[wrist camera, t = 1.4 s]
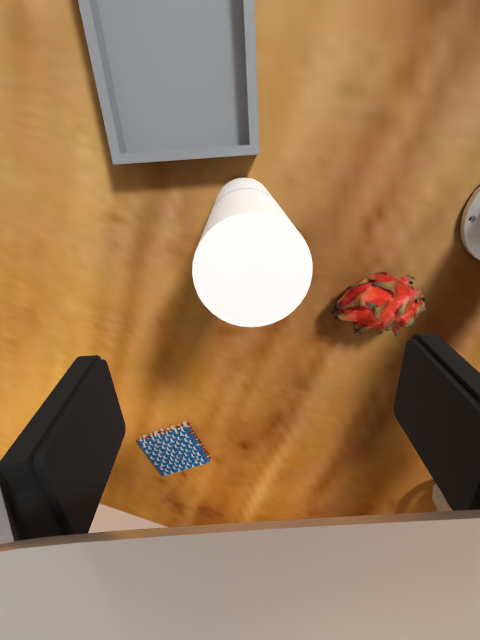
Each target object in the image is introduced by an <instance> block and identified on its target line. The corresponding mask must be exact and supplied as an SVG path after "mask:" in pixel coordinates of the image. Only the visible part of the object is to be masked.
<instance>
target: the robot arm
mask: <svg viewBox="0 0 480 640" xmlns="http://www.w3.org/2000/svg"><path fill="white" fill-rule="evenodd" d="M460 233H461V240H462V242H463V245H464V247H465V249H466V250H467V252H468V253H469V254H471V255H472V256H473V257H474V258H476V259H478V260H480V186H479V187H478V188H477V189H476V190H475V192H474V193H473V195H472V196H471V198H470V199H469V201H468V203H467V205H466V207H465V209H464V212H463V215H462V219H461V226H460ZM394 413H395V416H396V418H397V420H398V422H399V423H400V425H401V427H402V428H403V430H404V432H405V433H406V435H407V437H408V438H409V440H410V441H411V443H412V445H413V446H414V448H415V450H416V451H417V453H418V455H419V456H420V458H421V459H422V461H423V463H424V464H425V466H426V468H427V469H428V471H429V473H430V474H431V476H432V477H433V479H434V481H435V482H436V484H437V486H438V487H439V489H440V491H441V492H442V494H443V495H444V497H445V499H446V500H447V502H448V504H449V505H450V507H451V509H452V510H453V511H436V512H418V513H400V514H382V515H363V516H345V517H328V518H312V519H295V520H278V521H262V522H246V523H230V524H214V525H199V526H184V527H169V528H154V529H138V530H126V531H125V530H124V531H111V532H98V533H88V531H89V529H90V526H91V523H92V521H93V518H94V515H95V513H96V510H97V507H98V505H99V502H100V499H101V497H102V494H103V491H104V489H105V486H106V483H107V481H108V478H109V475H110V473H111V470H112V467H113V465H114V462H115V459H116V457H117V454H118V451H119V449H120V446H121V443H122V441H123V438H124V435H125V422H124V419H123V415H122V412H121V409H120V405H119V402H118V398H117V395H116V392H115V388H114V385H113V381H112V378H111V375H110V371H109V368H108V364H107V362H106V360H104V359H103V360H101V358H100V357H99V356H98V355H94V356H80V357H78V358H76V360H75V361H74V362H73V364H72V365H71V366H70V368H69V369H68V370H67V372H66V373H65V374H64V376H63V377H62V379H61V380H60V381H59V383H58V384H57V385H56V387H55V388H54V389H53V391H52V392H51V393H50V395H49V396H48V397H47V399H46V400H45V401H44V403H43V404H42V405H41V407H40V408H39V410H38V411H37V412H36V414H35V415H34V416H33V418H32V419H31V420H30V422H29V423H28V424H27V426H26V427H25V428H24V430H23V431H22V432H21V434H20V435H19V437H18V438H17V439H16V441H15V442H14V443H13V445H12V446H11V447H10V449H9V450H8V451H7V453H6V454H5V455H4V457H3V458H2V459H1V461H0V640H480V373H479V372H478V371H477V370H476V369H475V368H474V367H472V366H471V365H470V364H469V363H468V362H467V361H466V360H465V359H464V358H462V357H461V356H460V355H459V354H458V353H457V352H456V351H455V350H454V349H452V348H451V347H450V346H449V345H448V344H447V343H446V342H445V341H444V340H443V339H441V338H440V337H439V336H438V335H437V334H434V333H431V334H415V335H414V336H413V337H412V339H410V340H408V341H407V342H406V347H405V352H404V357H403V362H402V368H401V373H400V378H399V383H398V389H397V394H396V399H395V404H394Z"/></svg>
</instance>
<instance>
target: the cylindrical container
mask: <svg viewBox="0 0 480 640" xmlns="http://www.w3.org/2000/svg"><path fill="white" fill-rule="evenodd" d="M192 276H193V282H194V286H195V289H196V291H197V294H198V296H199V298H200V299H201V301H202V302H203V304H204V305H205V306H206V307H207V308H208V309H209V310H210V311H211V312H212V313H213V314H214V315H216V316H217V317H218V318H220V319H221V320H224V321H226V322H228V323H230V324H234V325H238V326H244V327H258V326H264V325H268V324H272V323H275V322H277V321H279V320H281V319H283V318H284V317H286V316H287V315H289V314H290V313H291V312H293V311H294V310H295V309H296V308H297V306H298V305H299V304H300V303H301V302H302V300H303V299H304V297H305V296H306V294H307V291H308V289H309V286H310V283H311V278H312V259H311V254H310V250H309V248H308V246H307V244H306V241H305V240H304V238H303V237H302V236H301V234H300V233H299V232H298V230H297V229H296V228H295V226H294V225H293V224H292V222H291V221H290V220H289V218H288V217H287V216H286V214H285V213H284V212H283V210H282V209H281V208H280V206H279V205H278V204H277V203H276V201H275V200H274V199H273V197H272V196H271V195H270V193H269V192H268V191H267V190H266V188H265V187H264V186H263V185H262V184H261V183H260V182H258V181H256V180H254V179H251V178H245V177H243V178H236V179H233V180H231V181H230V182H228V183H226V184H225V185H224V186H223V187H222V189H221V190H220V191H219V193H218V196H217V198H216V200H215V203H214V206H213V208H212V211H211V213H210V216H209V218H208V221H207V223H206V226H205V229H204V231H203V234H202V236H201V239H200V241H199V244H198V246H197V249H196V252H195V255H194V259H193V267H192Z"/></svg>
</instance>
